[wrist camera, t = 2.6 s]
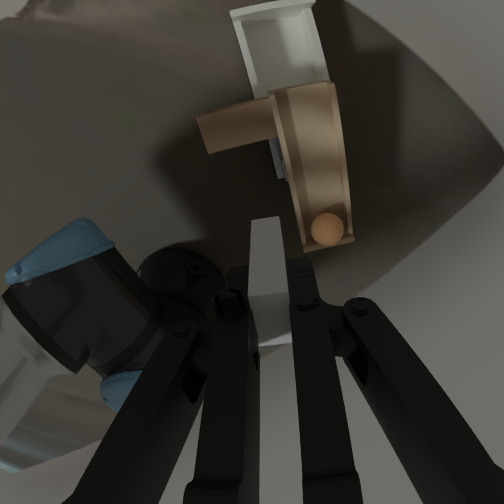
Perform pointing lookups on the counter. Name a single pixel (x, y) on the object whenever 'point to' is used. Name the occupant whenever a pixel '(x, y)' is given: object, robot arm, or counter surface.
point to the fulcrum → (278, 158)
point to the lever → (294, 148)
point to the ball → (327, 229)
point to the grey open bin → (279, 44)
